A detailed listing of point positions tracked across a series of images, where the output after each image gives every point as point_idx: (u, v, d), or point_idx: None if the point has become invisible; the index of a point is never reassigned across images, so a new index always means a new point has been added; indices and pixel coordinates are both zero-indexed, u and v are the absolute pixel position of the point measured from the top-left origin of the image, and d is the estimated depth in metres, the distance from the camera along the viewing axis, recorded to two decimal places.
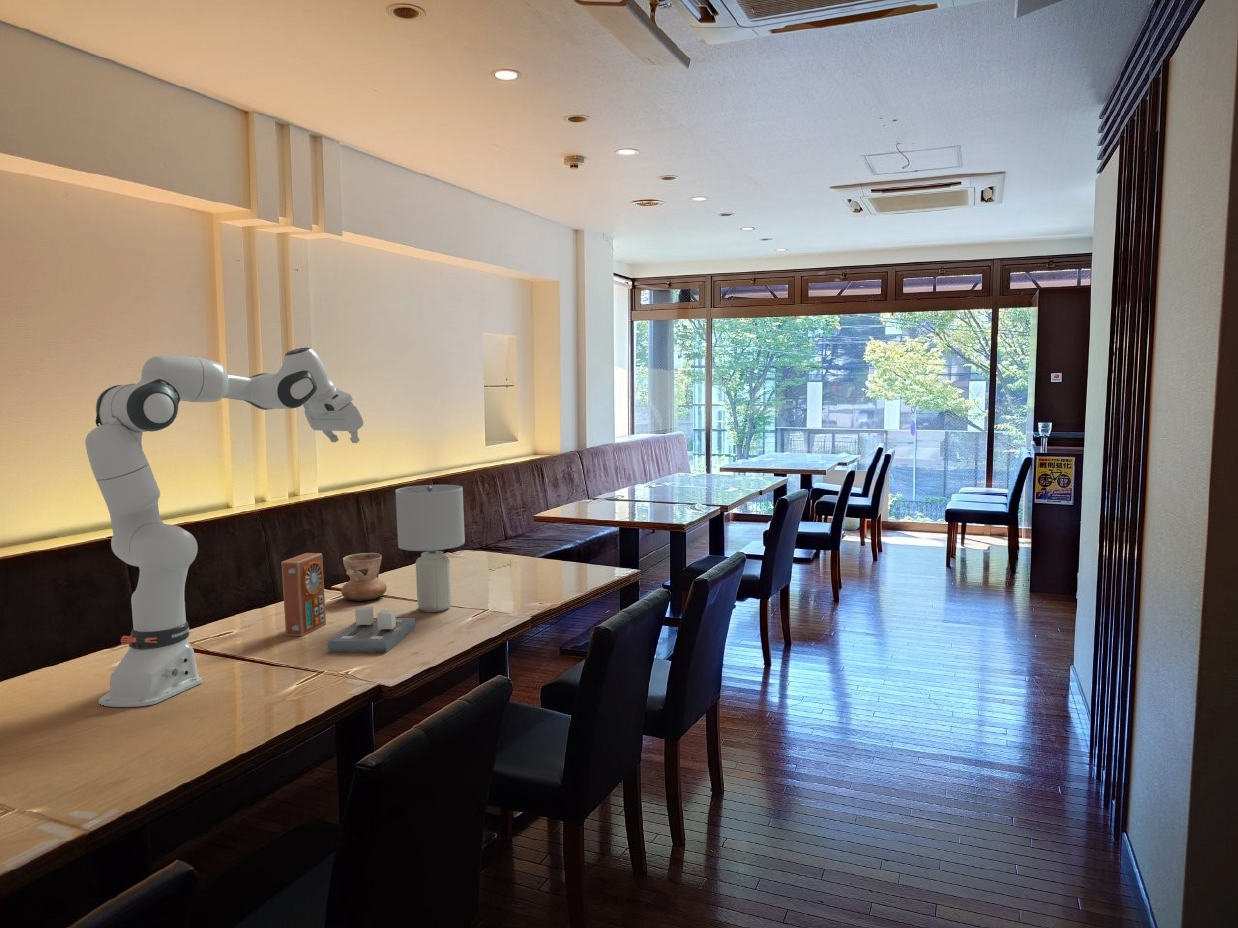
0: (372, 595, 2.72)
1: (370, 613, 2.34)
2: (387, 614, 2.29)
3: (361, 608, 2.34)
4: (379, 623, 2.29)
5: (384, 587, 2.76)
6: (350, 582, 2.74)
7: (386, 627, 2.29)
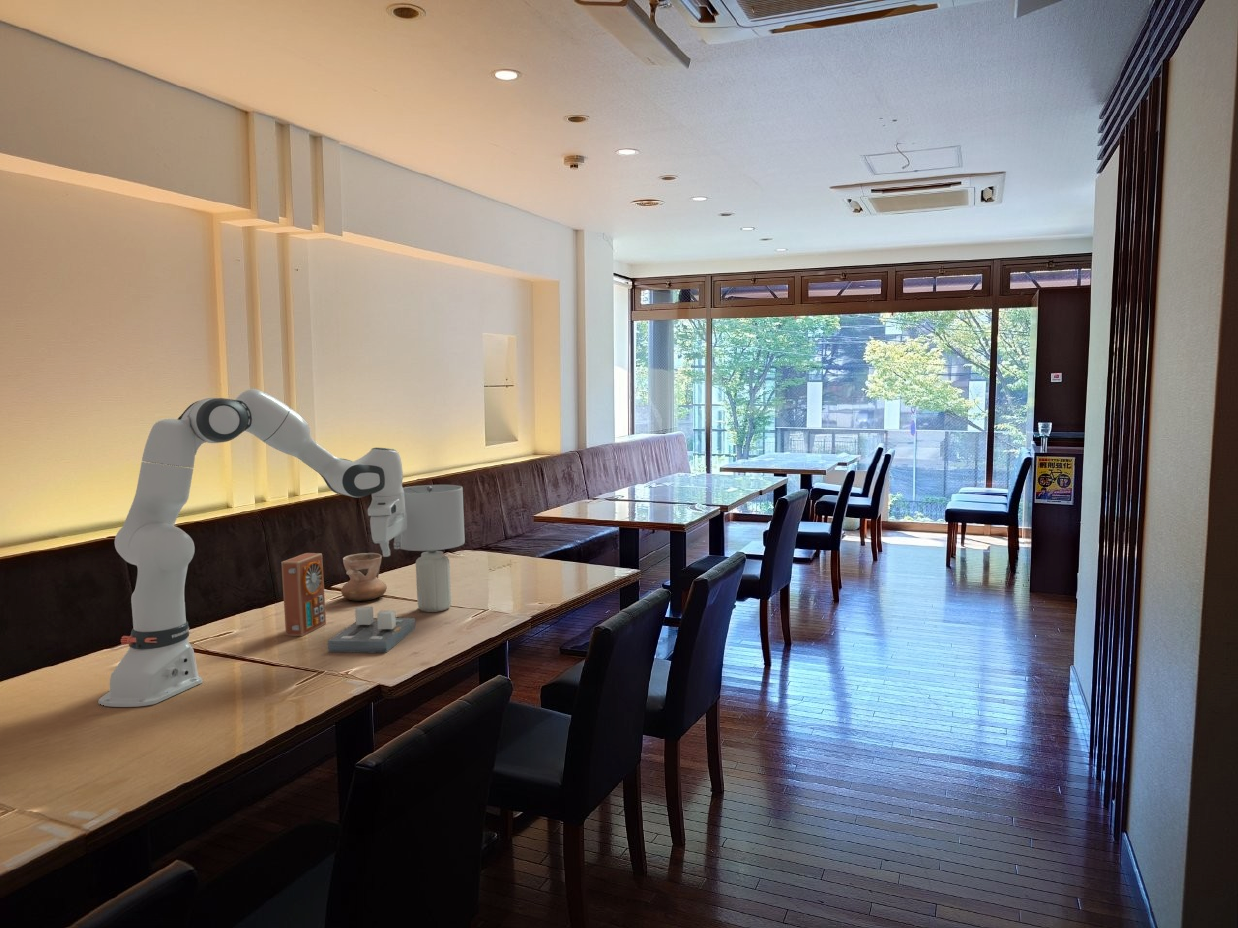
0: (372, 595, 2.72)
1: (370, 613, 2.34)
2: (387, 614, 2.29)
3: (361, 608, 2.34)
4: (379, 623, 2.29)
5: (384, 587, 2.76)
6: (350, 582, 2.74)
7: (386, 627, 2.29)
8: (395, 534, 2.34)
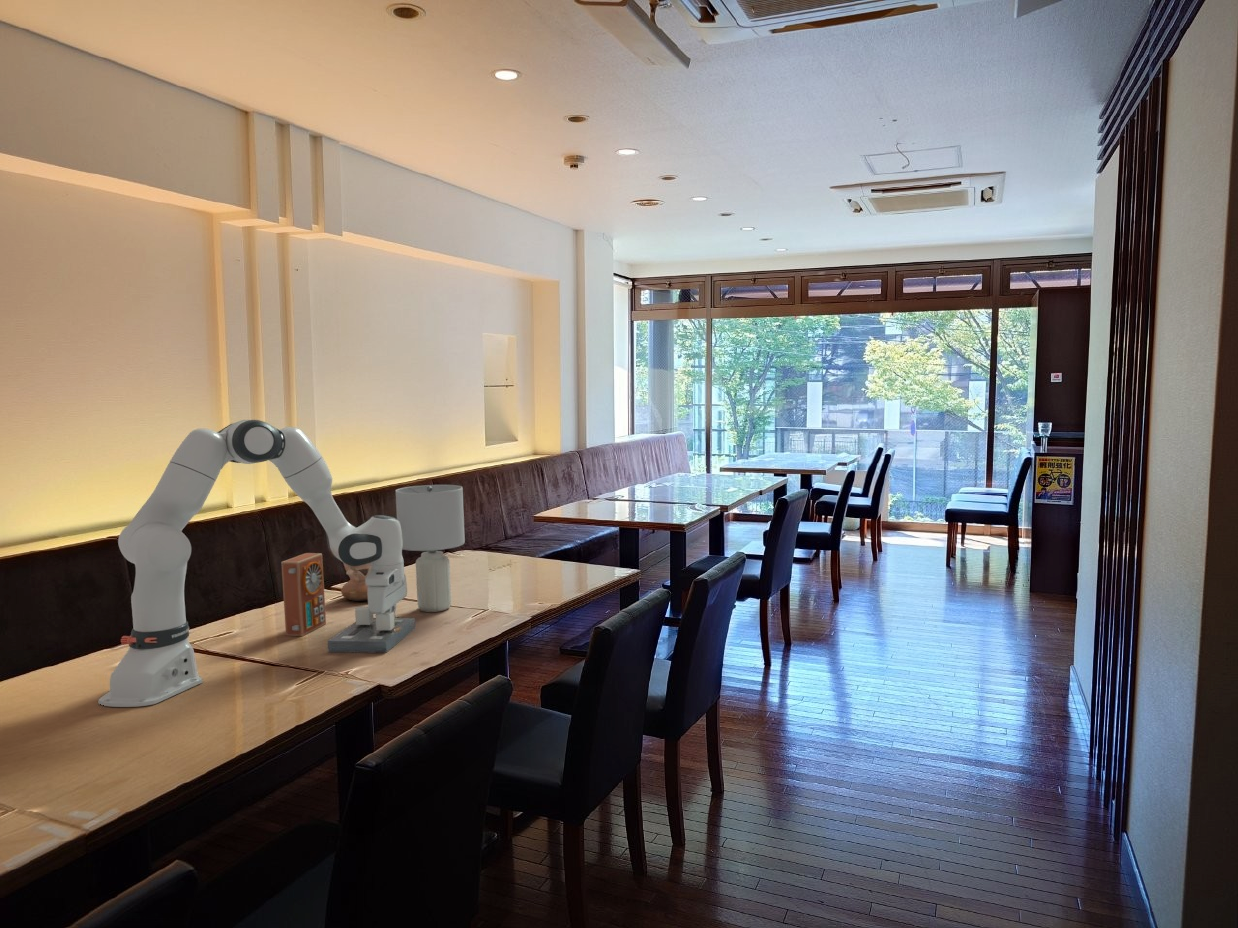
0: None
1: (370, 613, 2.34)
2: (386, 615, 2.28)
3: (361, 608, 2.34)
4: (378, 624, 2.28)
5: None
6: (350, 582, 2.74)
7: (385, 628, 2.28)
8: (393, 603, 2.31)
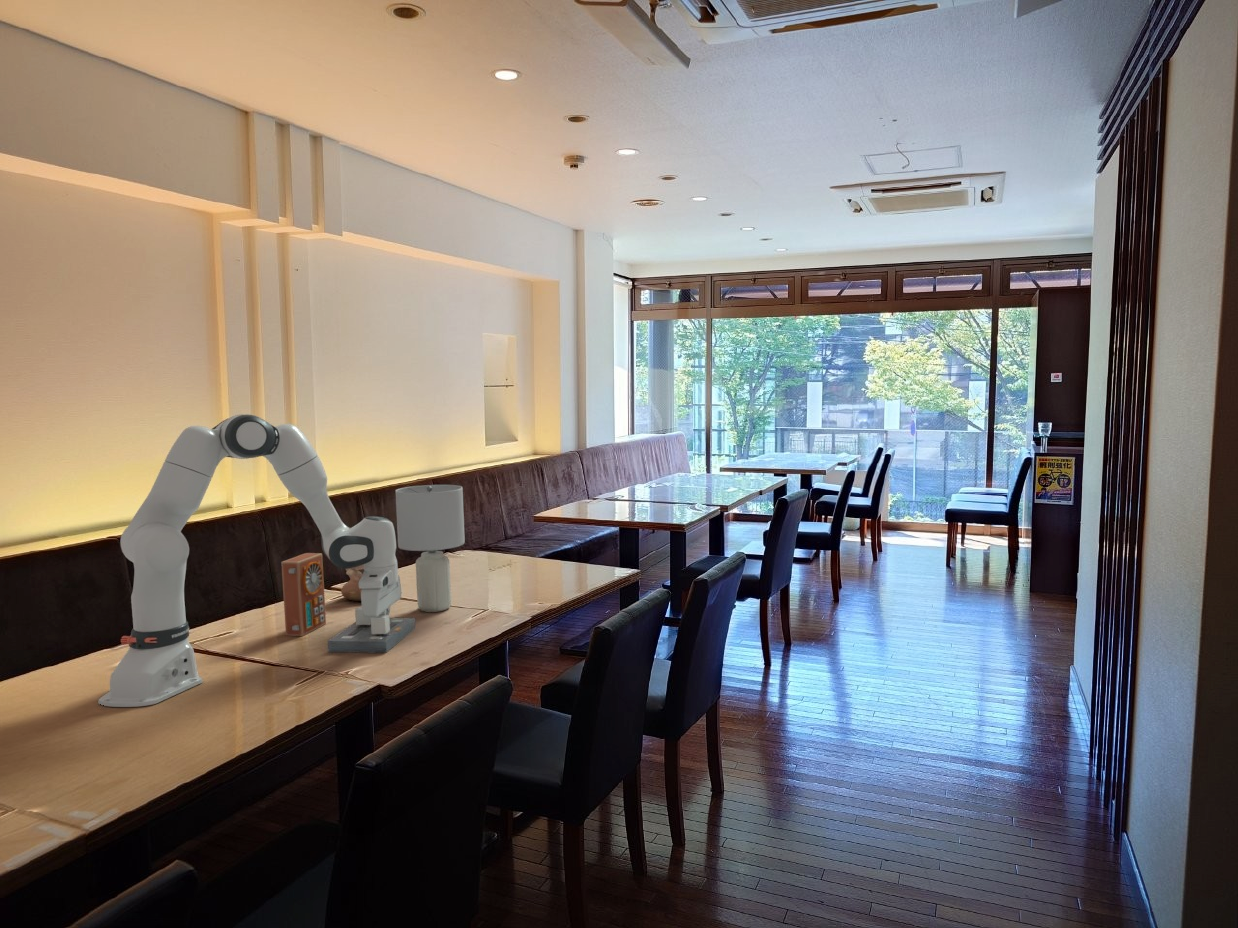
0: None
1: None
2: (381, 619, 2.24)
3: (361, 608, 2.34)
4: (373, 628, 2.25)
5: None
6: (350, 582, 2.74)
7: (380, 632, 2.25)
8: (387, 606, 2.27)
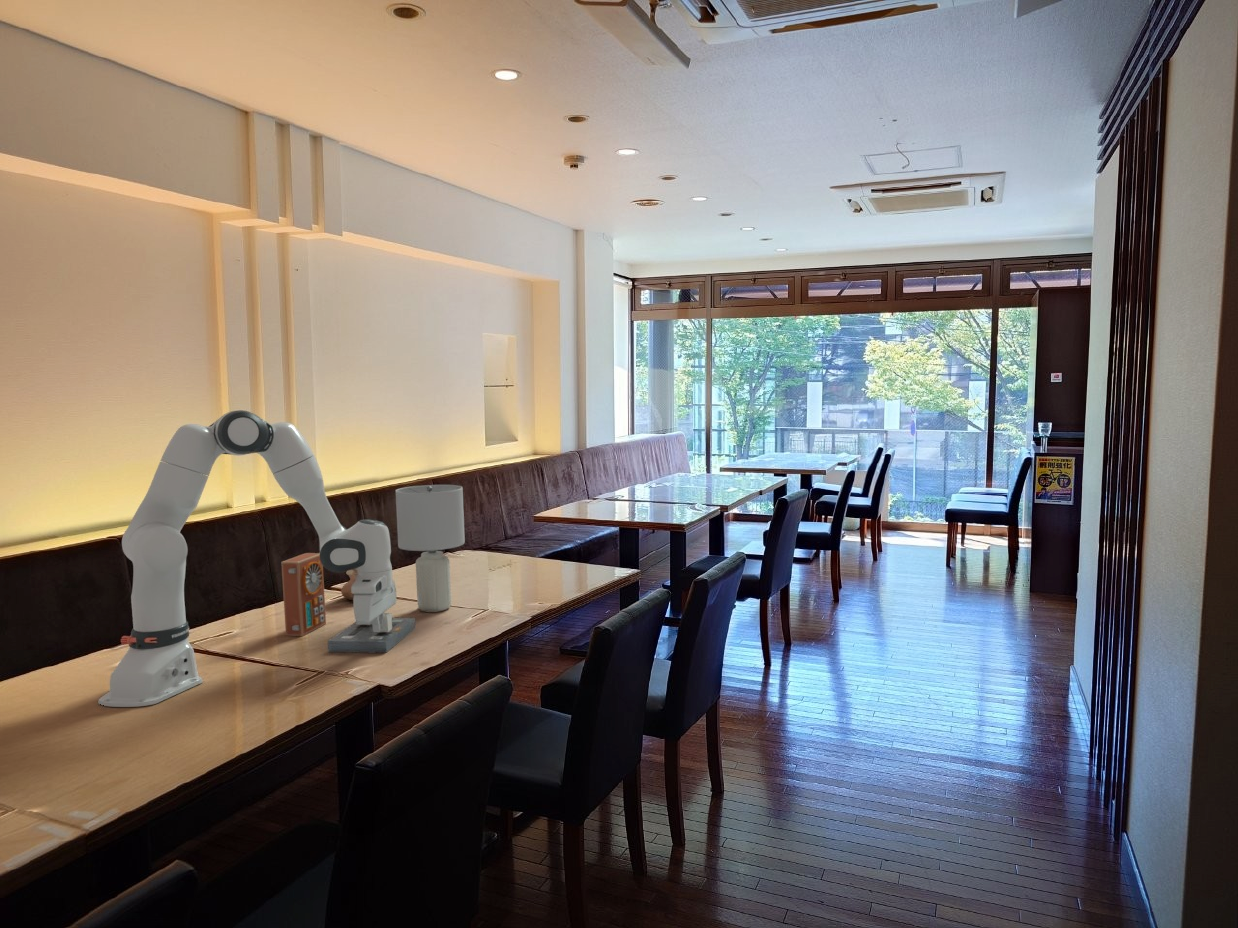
0: None
1: None
2: None
3: None
4: None
5: None
6: (350, 582, 2.74)
7: (382, 630, 2.26)
8: (381, 611, 2.22)
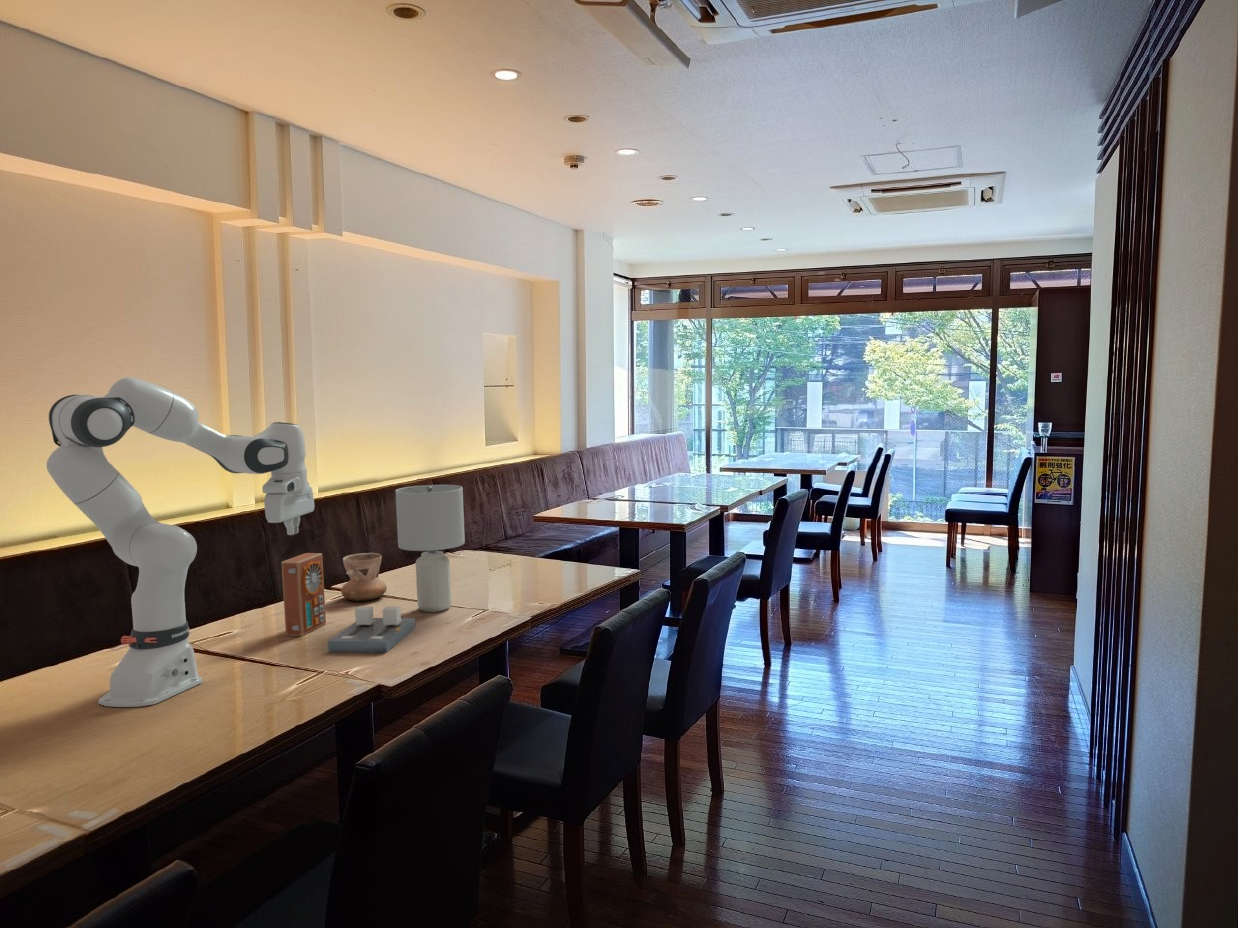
0: (372, 595, 2.72)
1: (370, 613, 2.34)
2: (392, 610, 2.33)
3: (361, 608, 2.34)
4: (385, 619, 2.33)
5: (384, 587, 2.76)
6: (350, 582, 2.74)
7: (391, 623, 2.33)
8: (295, 514, 2.21)
